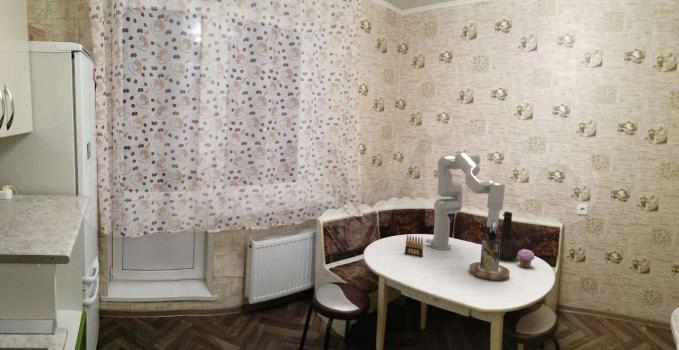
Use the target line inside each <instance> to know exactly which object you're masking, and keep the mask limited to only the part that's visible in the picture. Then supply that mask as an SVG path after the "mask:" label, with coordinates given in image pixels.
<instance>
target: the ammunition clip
mask: <svg viewBox="0 0 679 350" xmlns="http://www.w3.org/2000/svg"><path fill="white" fill-rule="evenodd" d="M405 240H406V241H405V248H404V249H405V250H404V255H407V256H413V257H417V258H423V255H424V254H423V253H424V250H423V249H424V242H423V241H424V239H423V237H420V236H418V237H417V236H414V235H413V236H412V235H411V234H410V235H409V234H407V236H406V239H405Z"/></svg>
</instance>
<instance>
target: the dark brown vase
mask: <svg viewBox="0 0 679 350" xmlns="http://www.w3.org/2000/svg"><path fill="white" fill-rule="evenodd" d="M502 217H503V222H502V226H501V227H502V228H501V232H500V235H499V236H496V238H495V239H500V252H499V260H500V259H501V260H507V261H509V260H510V261H511V260H514V259H517V258H519V257H518V256H517V253H518V252H519V251H520V250H522V249H523V248H522V245H521V243H520V241H518V240H517V239H516V238H514V236H513V229H512V228H513V227H512V223H513V222H512V221H513V220H512V219H513V212H510V211H504V214H502Z"/></svg>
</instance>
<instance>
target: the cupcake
mask: <svg viewBox="0 0 679 350" xmlns="http://www.w3.org/2000/svg"><path fill="white" fill-rule="evenodd" d="M534 253H535V252H533V251H532V250H530V249H526V248H522V249H521V250H520V251H519V252H518V253H517V256H518V257H517V258H519V266H520V268H521V267H522V268H526V269H527V268H528V269H529V268H530V267H531V264H532V261H533V260H534V259H535V254H534Z"/></svg>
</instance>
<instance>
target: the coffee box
mask: <svg viewBox="0 0 679 350" xmlns="http://www.w3.org/2000/svg"><path fill="white" fill-rule="evenodd" d="M499 252H500V239H495V240H489V237H485V236H483V237H482V239H481V249H480V261H479V262H480V269H485V270H491V271H497V272H498V267H499V265H500V258H499Z"/></svg>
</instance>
